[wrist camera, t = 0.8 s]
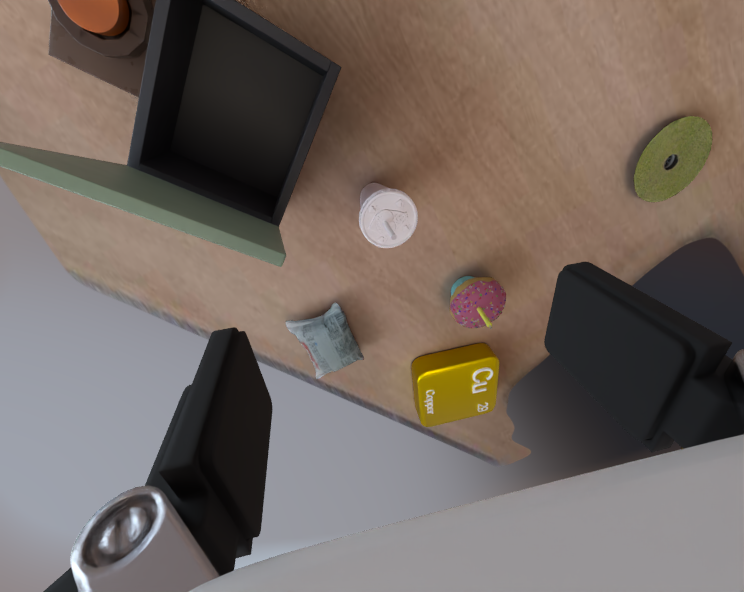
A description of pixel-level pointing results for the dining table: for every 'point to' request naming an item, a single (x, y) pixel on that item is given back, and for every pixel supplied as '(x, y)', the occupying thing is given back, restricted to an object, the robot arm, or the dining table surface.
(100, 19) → the button
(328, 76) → the dark grey hollow box
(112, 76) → the switch block
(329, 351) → the packaged food
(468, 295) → the cupcake
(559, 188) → the dining table surface
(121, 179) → the lid
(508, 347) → the dining table surface
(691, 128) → the mat
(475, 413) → the element tile
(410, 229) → the smoothie
